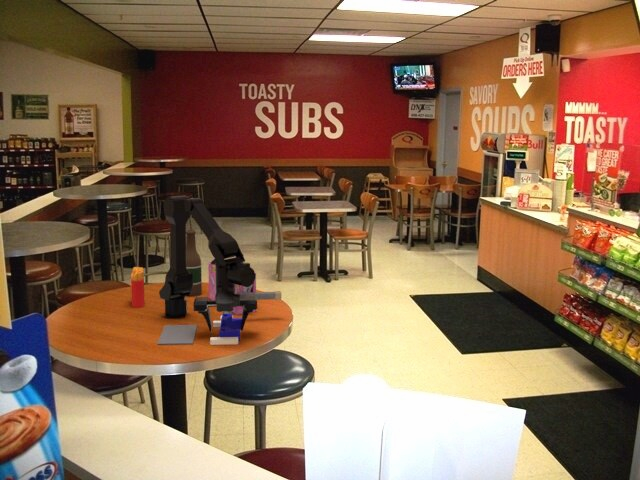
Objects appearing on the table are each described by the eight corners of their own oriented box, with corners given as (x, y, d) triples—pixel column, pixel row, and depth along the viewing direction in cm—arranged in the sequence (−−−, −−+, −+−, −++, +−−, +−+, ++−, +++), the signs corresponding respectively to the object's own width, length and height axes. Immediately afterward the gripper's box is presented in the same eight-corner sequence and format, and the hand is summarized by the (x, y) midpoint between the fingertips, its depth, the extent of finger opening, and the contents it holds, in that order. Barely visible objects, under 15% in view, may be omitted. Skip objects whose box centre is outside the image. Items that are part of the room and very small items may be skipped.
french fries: (131, 301, 214) (130, 265, 211) (144, 300, 215) (142, 264, 213) (132, 309, 205) (131, 271, 203) (145, 308, 207) (144, 271, 204)
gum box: (259, 313, 205) (259, 274, 202) (238, 316, 201) (238, 277, 198) (227, 295, 224) (227, 259, 222) (208, 298, 220) (207, 262, 217)
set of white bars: (210, 344, 175) (210, 339, 175) (214, 318, 198) (214, 314, 198) (238, 344, 176) (238, 339, 176) (239, 318, 199) (239, 313, 199)
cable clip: (222, 313, 189) (242, 313, 189) (222, 327, 190) (242, 327, 190) (219, 326, 177) (240, 326, 178) (219, 341, 178) (240, 341, 178)
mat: (157, 345, 174) (157, 343, 174) (164, 326, 189) (164, 325, 189) (192, 344, 175) (192, 343, 175) (197, 325, 191) (197, 324, 190)
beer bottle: (177, 295, 222) (176, 231, 217) (185, 290, 229) (184, 227, 225) (197, 297, 221) (196, 232, 216) (205, 291, 228) (204, 228, 224)
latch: (281, 316, 198) (281, 290, 196) (223, 318, 195) (222, 292, 193) (280, 314, 200) (280, 288, 199) (223, 315, 197) (222, 289, 196)
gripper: (191, 288, 172) (192, 340, 175) (257, 287, 174) (257, 339, 177) (194, 278, 182) (195, 328, 185) (256, 277, 185) (257, 326, 188)
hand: (226, 330), depth 183 cm, fingers open, 9 cm apart
